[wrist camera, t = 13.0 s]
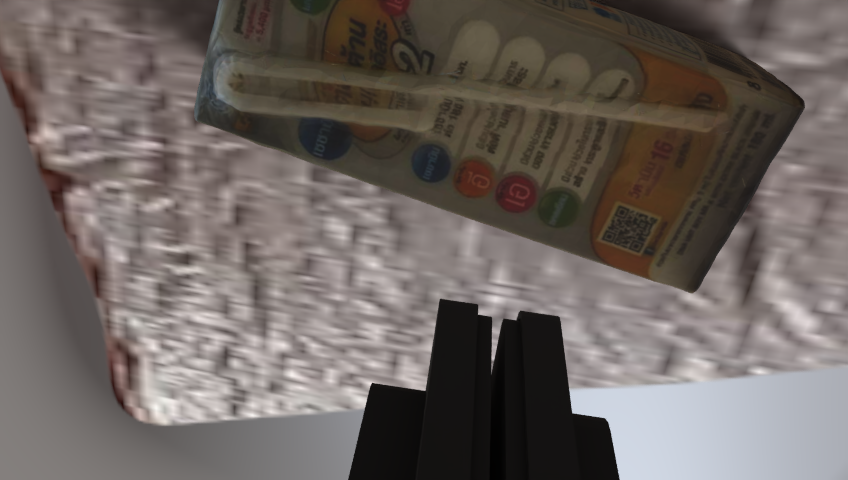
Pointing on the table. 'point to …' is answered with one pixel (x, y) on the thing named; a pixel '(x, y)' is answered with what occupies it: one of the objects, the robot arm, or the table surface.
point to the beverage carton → (512, 117)
